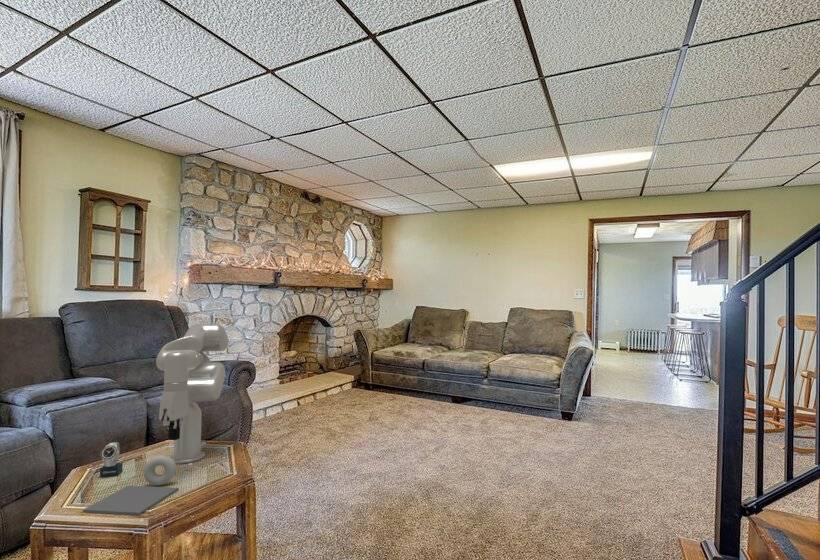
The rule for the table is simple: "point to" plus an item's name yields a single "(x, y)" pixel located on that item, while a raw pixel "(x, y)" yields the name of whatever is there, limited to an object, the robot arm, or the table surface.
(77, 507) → the table surface
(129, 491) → the mat
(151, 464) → the donut
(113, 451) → the watch
